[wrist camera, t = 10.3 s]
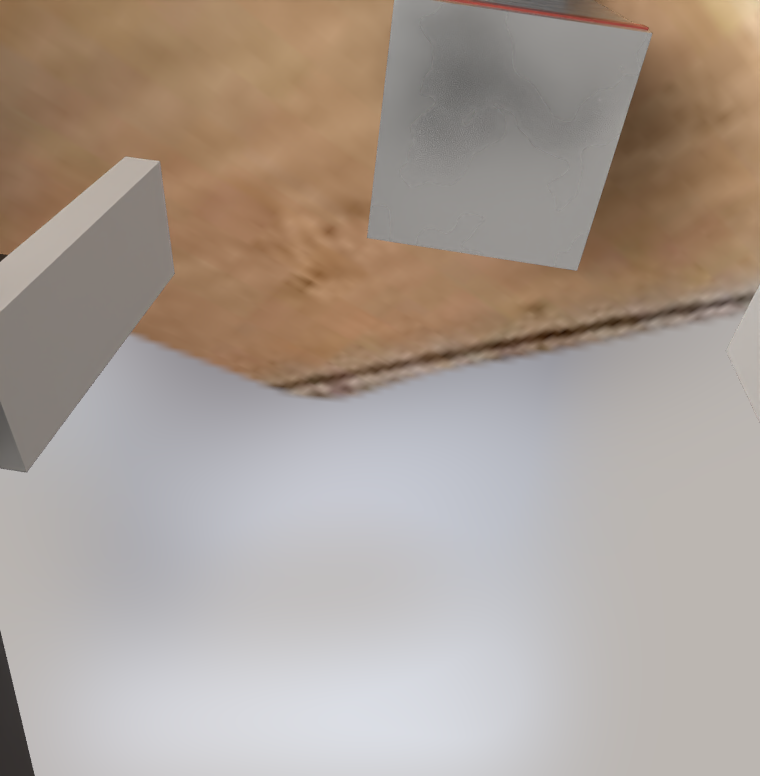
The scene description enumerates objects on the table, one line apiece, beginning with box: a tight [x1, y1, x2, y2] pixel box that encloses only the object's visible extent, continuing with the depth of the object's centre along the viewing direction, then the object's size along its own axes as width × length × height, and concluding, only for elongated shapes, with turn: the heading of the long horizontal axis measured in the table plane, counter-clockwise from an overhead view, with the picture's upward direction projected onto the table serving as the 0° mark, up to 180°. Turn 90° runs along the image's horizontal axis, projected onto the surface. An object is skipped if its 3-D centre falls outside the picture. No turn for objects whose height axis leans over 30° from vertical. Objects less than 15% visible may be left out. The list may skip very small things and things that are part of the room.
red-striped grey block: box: [367, 0, 652, 271], centre depth 22 cm, size 6×6×10 cm
